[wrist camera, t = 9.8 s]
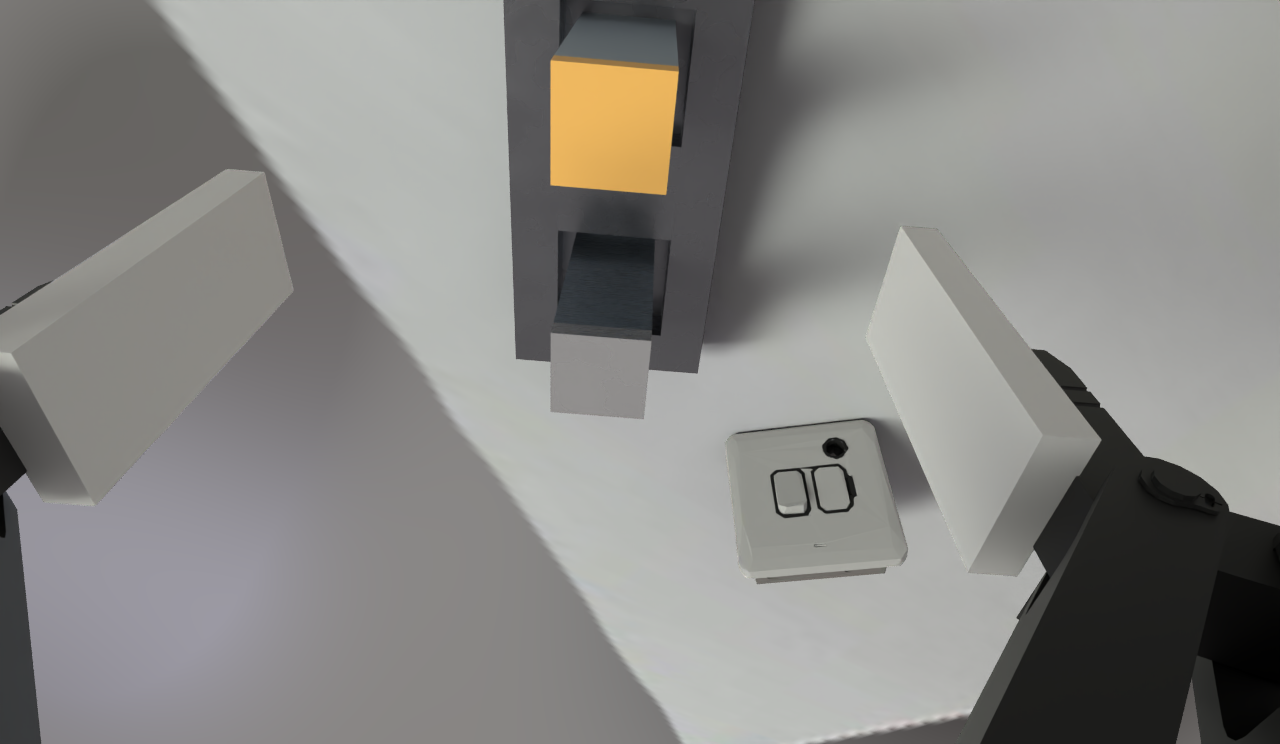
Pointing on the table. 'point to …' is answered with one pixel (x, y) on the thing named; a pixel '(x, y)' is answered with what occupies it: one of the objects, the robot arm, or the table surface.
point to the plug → (614, 104)
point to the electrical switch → (812, 503)
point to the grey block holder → (619, 212)
